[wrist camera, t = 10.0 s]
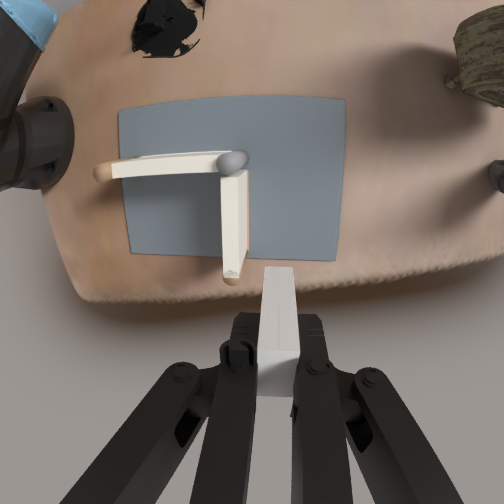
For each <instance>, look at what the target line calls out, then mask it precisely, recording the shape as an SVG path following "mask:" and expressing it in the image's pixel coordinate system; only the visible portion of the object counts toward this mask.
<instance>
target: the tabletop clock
mask: <svg viewBox="0 0 504 504" xmlns="http://www.w3.org/2000/svg"><path fill="white" fill-rule="evenodd" d="M453 40H454V45H455V50H456V55H457V60H458V66H459V73H460V74H459V75H458V76H456V77H455V78H454V79H453V78H451V77H446V78H445V85H446V86H447V87H449V88H454V87H455V85H456V83H455V82H457V81H460V80H461V88H462V92H464V93H466V94H468V95H470V96H473V97H476V98H478V99H481V100H483V101H486V102H489V103H491V104H494V105H497V106H499V107H502V108H504V5H499V6H495V7H491V8H489V9H486V10H484V11H481V12H479V13H476V14H474V15H473V16H471V17H469V18H467V19H466V20H464V21H462V22H461V23H460V24H459V26H458V28H457V31H456V33H455V36H454V38H453Z"/></svg>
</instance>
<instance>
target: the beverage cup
mask: <svg viewBox="0 0 504 504" xmlns="http://www.w3.org/2000/svg"><path fill="white" fill-rule="evenodd" d="M489 178H490V182H491V184H492V186H493V187H494V188H495V189H497V190H499V191H500V192H502V193H504V160H495V161H494V162H493V163H492V164H491V167H490V171H489Z"/></svg>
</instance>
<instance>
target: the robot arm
mask: <svg viewBox="0 0 504 504" xmlns="http://www.w3.org/2000/svg"><path fill="white" fill-rule="evenodd" d="M57 23H58V14H57V12H56V11H55V10H54V9H53V8H52V7H50V6H49V5H47V4H45V3H44V2H42V1H40V0H0V192H1V191H3V190H6V189H8V188H11V187H15V188H25V189H33V190H35V189H36V190H37V189H43V188H46V187H49V186H51V185H53V184H55V183H56V182H57V181H59V179H60V178H61V177H62V176H63V174H64V173H65V171H66V169H67V167H68V165H69V162H70V160H71V156H72V152H73V146H74V124H73V119H72V115H71V112H70V110H69V108H68V106H67V105H66V104H65V103H64V101H62V100H61V99H60V98H57V97H54V96H41V97H37V98H34V99H32V100H29V101H27V102H25V103H23V104H20V105H19V106H17V105H18V103H19V100H20V98H21V95H22V93H23V90H24V88H25V86H26V83H27V81H28V79H29V77H30V75H31V73H32V71H33V69H34V67H35V65H36V63H37V61H38V59H39V58H40V56H41V54H42V52H44V51H45V46H46V44H47V42H48V40H49V38H50V37H51V35H52V33H53V31H54V30H55V28H56V26H57ZM220 361H221V363H220V364H219V365H217V366H215V367H212V368H206V369H198V368H197V367H196V366H195V365H193V364H191V363H187V362H178V363H175V364H173V365H171V366H169V367H168V368H167V369H166V370H165V372H164V373H163V374H162V375H161V377H160V378H159V379H158V381H157V382H156V383H155V384H154V386H153V387H152V388H151V390H150V391H149V392H148V393H147V394H146V396H145V397H144V398H143V400H142V401H141V402H140V403H139V405H138V406H137V407H136V408H135V410H134V411H133V412H132V413H131V415H130V416H129V417H128V419H127V420H126V421H125V422H124V424H123V425H122V426H121V427H120V428H119V430H118V431H117V432H116V433H115V435H114V436H113V437H112V438H111V440H110V441H109V442H108V444H107V445H106V446H105V447H104V449H103V450H102V451H101V452H100V454H99V455H98V456H97V457H96V459H95V460H94V461H93V462H92V464H91V465H90V466H89V467H88V469H87V470H86V471H85V472H84V474H83V475H82V476H81V477H80V478H79V480H78V481H77V482H76V484H75V485H74V486H73V487H72V488H71V490H70V491H69V492H68V494H67V495H66V496H65V497H64V498H63V500H62V501H61V502H60V503H59V504H155V503H156V501H157V499H158V498H159V496H160V495H161V493H162V492H163V490H164V488H165V487H166V485H167V484H168V482H169V480H170V479H171V477H172V476H173V474H174V472H175V471H176V469H177V467H178V466H179V464H180V462H181V461H182V459H183V457H184V455H185V454H186V452H187V450H188V449H189V447H190V446H191V444H192V442H193V441H194V439H195V437H196V435H197V434H198V432H199V430H200V429H201V427H202V425H203V423H204V422H205V420H206V418H207V417H209V419H208V424H207V427H206V432H205V436H204V441H203V445H202V450H201V454H200V459H199V463H198V467H197V472H196V476H195V481H194V485H193V490H192V494H191V499H190V504H246V500H247V491H248V482H249V472H250V462H251V452H252V443H253V433H254V422H255V412H256V396H275V397H276V396H277V397H292V396H293V405H292V410H291V415H290V417H292V487H291V488H292V490H291V504H353V497H352V487H351V476H350V468H349V459H348V452H347V451H348V450H347V443H346V438H347V440H348V443H349V445H350V447H351V449H352V451H353V454H354V456H355V458H356V461H357V463H358V465H359V468H360V470H361V472H362V474H363V477H364V479H365V481H366V484H367V486H368V488H369V490H370V492H371V495H372V497H373V500H374V502H375V504H464V503H463V501H462V499H461V498H460V496H459V494H458V492H457V490H456V489H455V487H454V485H453V483H452V481H451V479H450V478H449V476H448V474H447V472H446V471H445V469H444V467H443V466H442V464H441V462H440V461H439V459H438V457H437V455H436V454H435V452H434V450H433V449H432V447H431V445H430V444H429V442H428V440H427V439H426V437H425V436H424V434H423V432H422V431H421V429H420V427H419V426H418V424H417V423H416V421H415V419H414V418H413V416H412V415H411V413H410V412H409V410H408V408H407V407H406V405H405V404H404V402H403V401H402V399H401V398H400V396H399V394H398V393H397V391H396V390H395V388H394V387H393V385H392V384H391V382H390V381H389V379H388V378H387V376H386V375H385V374H384V373H383V372H382V371H380V370H379V369H376V368H371V367H367V368H363V369H360V370H359V371H358V372H357V373H356V374H352V373H347V372H344V371H340V370H338V369H337V368H335V367H334V366H333V364H332V363H331V362H330V361H329V358H328V352H327V347H326V342H325V337H324V331H323V326H322V321H321V320H320V319H319V317H318V316H317V315H316V314H297V308H296V298H295V287H294V277H293V268H292V267H270V266H265V273H264V284H263V295H262V306H261V313H247V312H240V313H239V314H238V315H237V316H236V317H235V319H234V323H233V327H232V332H231V336H230V340H227V341H226V342H224V343H223V344H222V345H221V347H220Z"/></svg>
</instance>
